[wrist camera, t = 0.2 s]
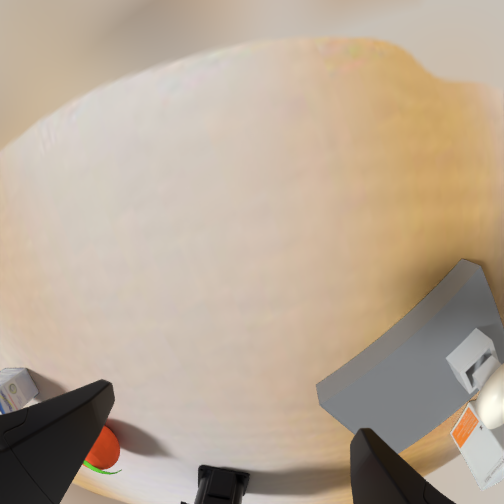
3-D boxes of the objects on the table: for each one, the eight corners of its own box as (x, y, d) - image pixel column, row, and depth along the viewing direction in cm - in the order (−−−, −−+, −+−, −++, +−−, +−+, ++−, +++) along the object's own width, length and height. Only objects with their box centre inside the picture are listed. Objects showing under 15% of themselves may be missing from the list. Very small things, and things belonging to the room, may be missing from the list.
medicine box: (18, 389, 30) (-12, 414, 21) (5, 366, 29) (-27, 389, 20) (40, 392, 29) (7, 422, 20) (25, 366, 28) (-10, 394, 19)
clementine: (140, 437, 28) (119, 476, 21) (128, 456, 29) (110, 490, 22) (87, 402, 27) (59, 435, 20) (81, 426, 29) (58, 455, 22)
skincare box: (467, 400, 23) (510, 459, 12) (487, 396, 23) (529, 447, 11) (447, 434, 24) (480, 492, 13) (468, 428, 24) (501, 481, 12)
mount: (381, 442, 25) (393, 476, 19) (315, 384, 24) (323, 426, 18) (497, 345, 22) (524, 367, 16) (462, 258, 20) (499, 273, 15)
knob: (467, 407, 17) (489, 437, 12) (453, 378, 16) (480, 412, 11) (509, 365, 16) (536, 389, 11) (499, 330, 15) (533, 355, 10)
